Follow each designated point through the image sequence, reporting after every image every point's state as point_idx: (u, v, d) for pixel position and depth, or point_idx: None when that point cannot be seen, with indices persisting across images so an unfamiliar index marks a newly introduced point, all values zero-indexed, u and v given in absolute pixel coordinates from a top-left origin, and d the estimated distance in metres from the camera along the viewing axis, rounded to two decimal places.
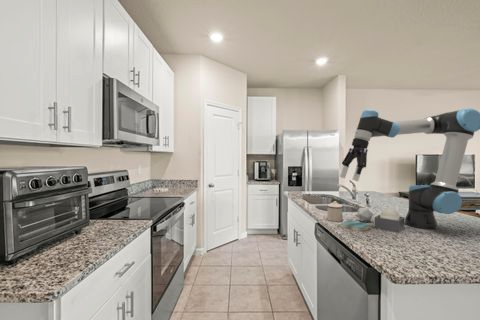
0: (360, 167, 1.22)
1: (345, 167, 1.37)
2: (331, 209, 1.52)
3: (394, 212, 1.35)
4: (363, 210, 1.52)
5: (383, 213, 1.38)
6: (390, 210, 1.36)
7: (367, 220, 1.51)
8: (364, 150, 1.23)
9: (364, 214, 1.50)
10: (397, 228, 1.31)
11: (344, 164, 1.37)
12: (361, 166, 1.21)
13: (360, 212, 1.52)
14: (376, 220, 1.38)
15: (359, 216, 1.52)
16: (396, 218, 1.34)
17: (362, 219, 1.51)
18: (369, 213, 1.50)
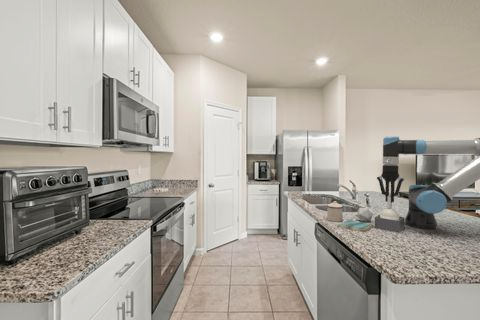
0: (393, 196, 1.37)
1: None
2: (331, 209, 1.52)
3: (394, 212, 1.35)
4: (363, 210, 1.52)
5: (383, 213, 1.38)
6: (390, 210, 1.36)
7: (367, 220, 1.51)
8: (402, 181, 1.34)
9: (364, 214, 1.50)
10: (397, 228, 1.31)
11: (387, 194, 1.38)
12: (395, 195, 1.36)
13: (360, 212, 1.52)
14: (376, 220, 1.38)
15: (359, 216, 1.52)
16: (396, 218, 1.34)
17: (362, 219, 1.51)
18: (369, 213, 1.50)
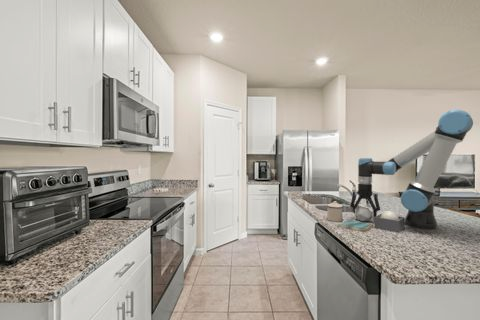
0: (376, 211, 1.49)
1: (356, 210, 1.56)
2: (331, 209, 1.52)
3: (394, 215, 1.35)
4: (363, 210, 1.52)
5: (383, 216, 1.38)
6: (390, 213, 1.36)
7: (367, 220, 1.51)
8: (376, 196, 1.48)
9: (364, 214, 1.50)
10: (397, 228, 1.31)
11: (355, 207, 1.56)
12: (378, 210, 1.48)
13: (360, 212, 1.52)
14: (376, 220, 1.38)
15: (359, 216, 1.52)
16: None
17: (362, 219, 1.51)
18: (369, 213, 1.50)
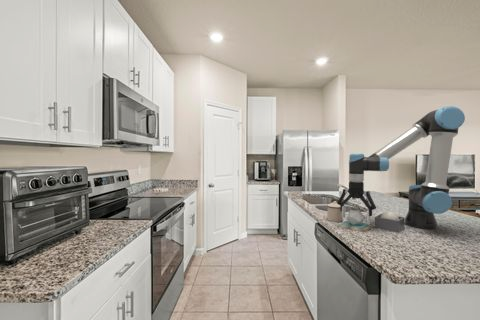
0: None
1: (344, 207, 1.45)
2: (331, 209, 1.52)
3: (394, 215, 1.35)
4: (354, 212, 1.39)
5: (383, 216, 1.38)
6: (390, 213, 1.36)
7: (358, 223, 1.38)
8: (369, 193, 1.35)
9: (355, 217, 1.37)
10: (397, 228, 1.31)
11: (342, 205, 1.45)
12: (373, 209, 1.34)
13: (351, 215, 1.39)
14: (376, 220, 1.38)
15: (350, 219, 1.40)
16: None
17: (353, 222, 1.38)
18: (361, 216, 1.38)
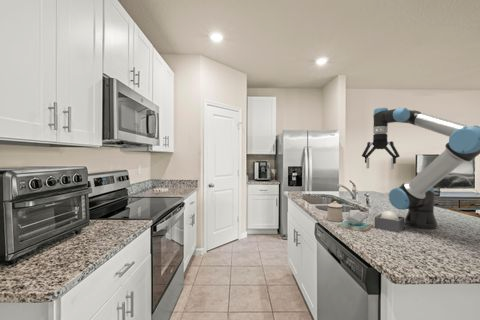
0: (395, 158, 1.47)
1: (368, 159, 1.58)
2: (331, 209, 1.52)
3: (394, 215, 1.35)
4: (354, 212, 1.39)
5: (383, 216, 1.38)
6: (390, 213, 1.36)
7: (358, 223, 1.38)
8: (392, 143, 1.48)
9: (355, 217, 1.37)
10: (397, 228, 1.31)
11: (367, 156, 1.58)
12: None
13: (351, 215, 1.39)
14: (376, 220, 1.38)
15: (350, 219, 1.40)
16: None
17: (353, 222, 1.38)
18: (361, 216, 1.38)
